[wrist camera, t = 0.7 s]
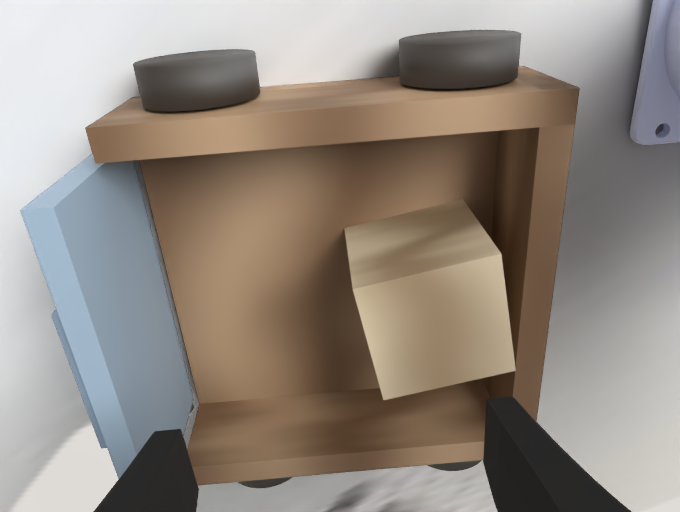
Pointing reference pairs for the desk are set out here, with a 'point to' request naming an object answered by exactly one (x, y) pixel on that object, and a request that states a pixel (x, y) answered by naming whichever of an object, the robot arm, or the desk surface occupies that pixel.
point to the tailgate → (111, 305)
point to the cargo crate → (430, 299)
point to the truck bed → (338, 240)
